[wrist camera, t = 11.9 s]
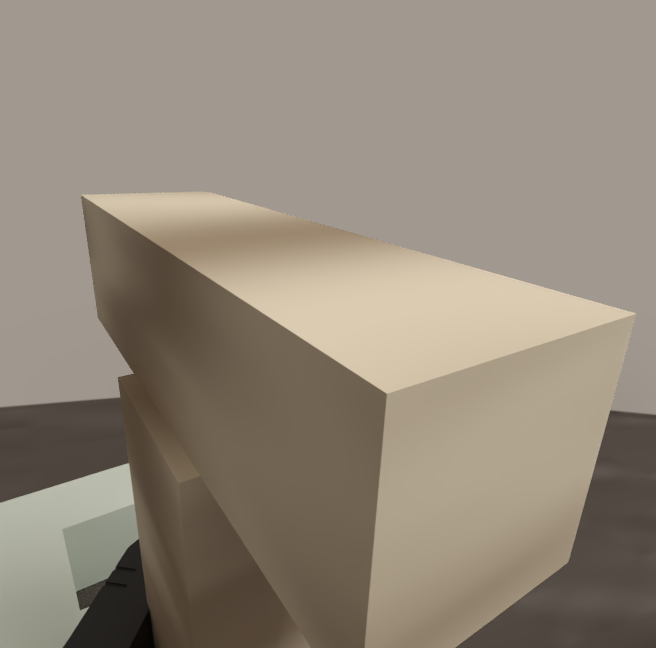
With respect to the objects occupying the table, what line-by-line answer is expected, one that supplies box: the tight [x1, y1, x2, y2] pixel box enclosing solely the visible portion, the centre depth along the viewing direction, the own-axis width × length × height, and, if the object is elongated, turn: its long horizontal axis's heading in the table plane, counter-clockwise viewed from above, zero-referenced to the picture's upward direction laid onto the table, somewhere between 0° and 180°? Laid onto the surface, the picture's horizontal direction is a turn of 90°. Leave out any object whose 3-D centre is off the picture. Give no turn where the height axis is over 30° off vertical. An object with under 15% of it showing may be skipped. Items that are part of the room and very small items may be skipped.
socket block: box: [0, 463, 139, 648], centre depth 23 cm, size 12×12×4 cm
